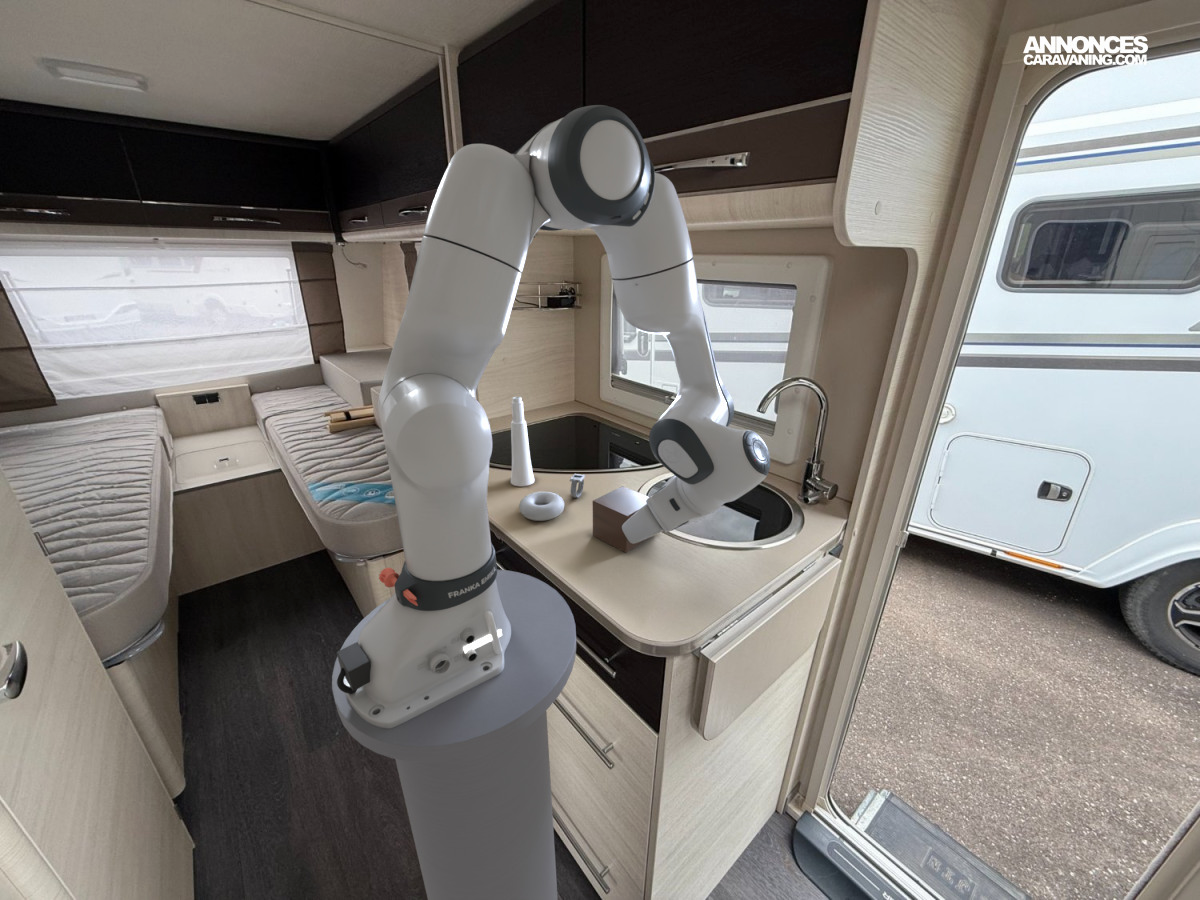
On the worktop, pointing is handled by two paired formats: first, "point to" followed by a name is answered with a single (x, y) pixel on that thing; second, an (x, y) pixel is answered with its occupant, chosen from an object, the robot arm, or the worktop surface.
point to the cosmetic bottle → (520, 447)
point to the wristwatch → (576, 479)
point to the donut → (541, 506)
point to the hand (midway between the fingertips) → (644, 525)
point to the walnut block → (616, 516)
